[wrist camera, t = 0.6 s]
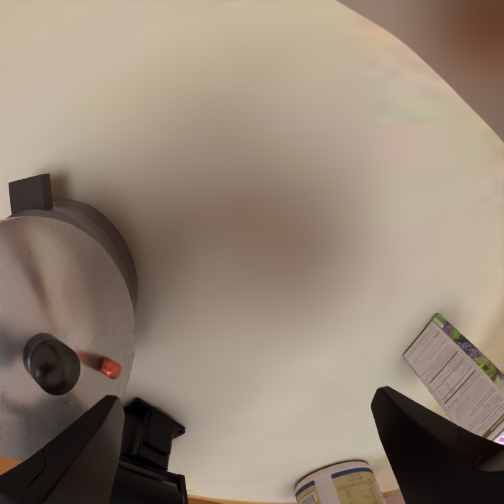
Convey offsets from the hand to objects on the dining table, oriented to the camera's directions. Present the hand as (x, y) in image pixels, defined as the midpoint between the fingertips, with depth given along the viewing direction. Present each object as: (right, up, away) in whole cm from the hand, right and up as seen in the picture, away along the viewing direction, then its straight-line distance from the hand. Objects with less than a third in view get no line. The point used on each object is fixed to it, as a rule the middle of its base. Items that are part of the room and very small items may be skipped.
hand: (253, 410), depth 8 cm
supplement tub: (+12, -29, +24) cm, 40 cm away
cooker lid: (-10, +1, +2) cm, 11 cm away
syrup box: (+19, -4, +17) cm, 26 cm away
